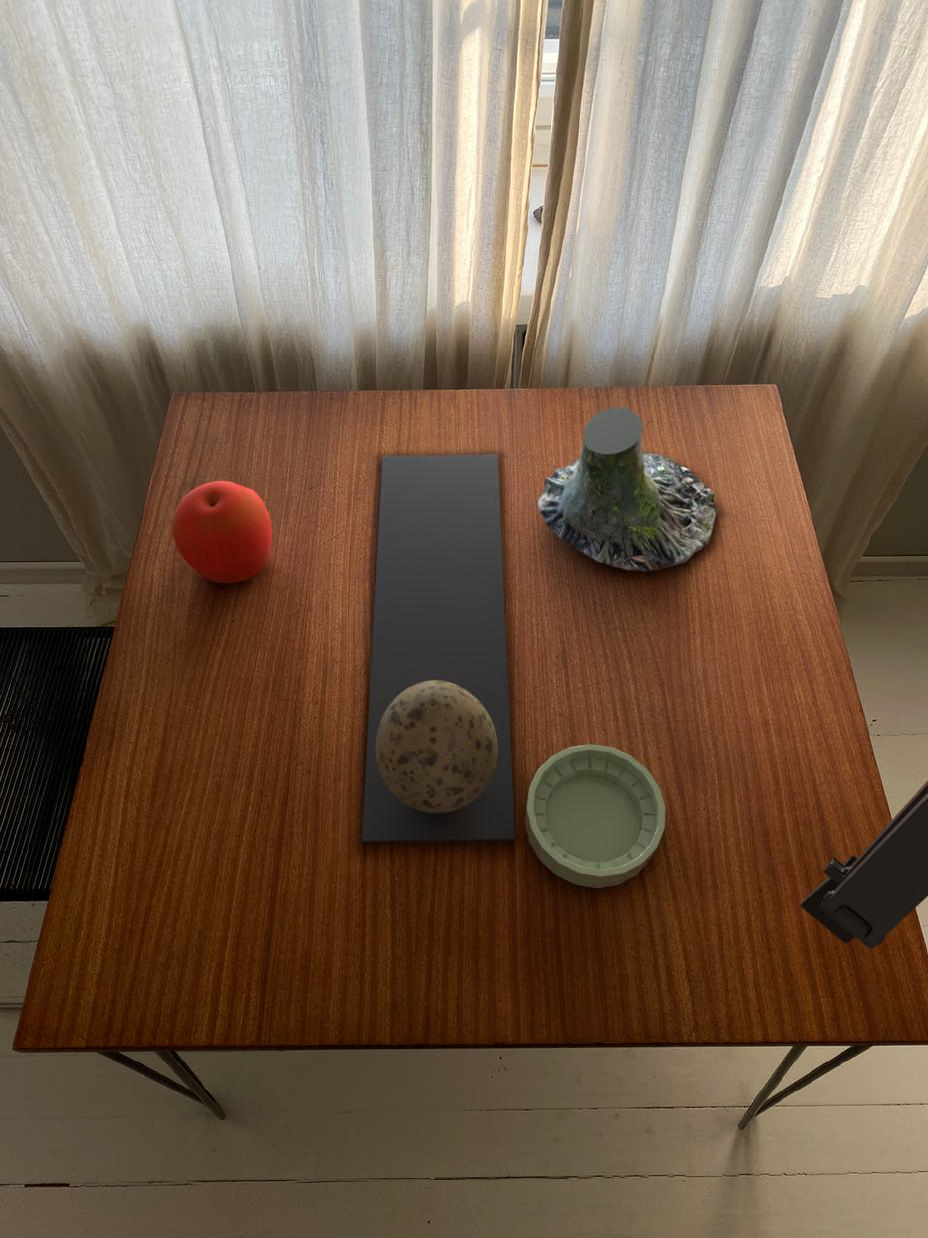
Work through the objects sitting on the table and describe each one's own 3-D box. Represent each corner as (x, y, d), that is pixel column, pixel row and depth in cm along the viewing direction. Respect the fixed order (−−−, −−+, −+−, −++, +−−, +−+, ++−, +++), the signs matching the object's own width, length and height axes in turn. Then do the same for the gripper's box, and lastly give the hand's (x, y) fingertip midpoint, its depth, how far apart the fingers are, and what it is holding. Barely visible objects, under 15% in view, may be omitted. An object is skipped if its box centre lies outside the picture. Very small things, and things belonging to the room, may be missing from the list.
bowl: (598, 918, 76) (604, 906, 73) (497, 823, 81) (498, 807, 78) (684, 823, 81) (693, 807, 77) (583, 738, 86) (588, 720, 82)
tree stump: (744, 563, 98) (752, 468, 82) (573, 618, 100) (549, 535, 84) (687, 442, 107) (685, 335, 91) (531, 494, 109) (503, 398, 93)
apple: (272, 519, 101) (251, 448, 92) (288, 586, 96) (267, 518, 86) (184, 539, 100) (153, 469, 90) (195, 609, 94) (164, 542, 85)
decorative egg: (425, 708, 87) (418, 626, 74) (517, 764, 83) (525, 688, 71) (359, 792, 82) (339, 720, 69) (453, 855, 79) (450, 791, 66)
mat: (515, 841, 80) (515, 839, 79) (362, 843, 80) (361, 841, 79) (497, 457, 106) (497, 454, 106) (382, 459, 106) (382, 455, 106)
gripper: (1175, 382, 36) (944, 649, 54) (853, 782, 27) (700, 946, 44) (1378, 477, 33) (1063, 726, 51) (1097, 965, 24) (829, 1063, 41)
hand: (894, 829), depth 48 cm, fingers open, 13 cm apart
